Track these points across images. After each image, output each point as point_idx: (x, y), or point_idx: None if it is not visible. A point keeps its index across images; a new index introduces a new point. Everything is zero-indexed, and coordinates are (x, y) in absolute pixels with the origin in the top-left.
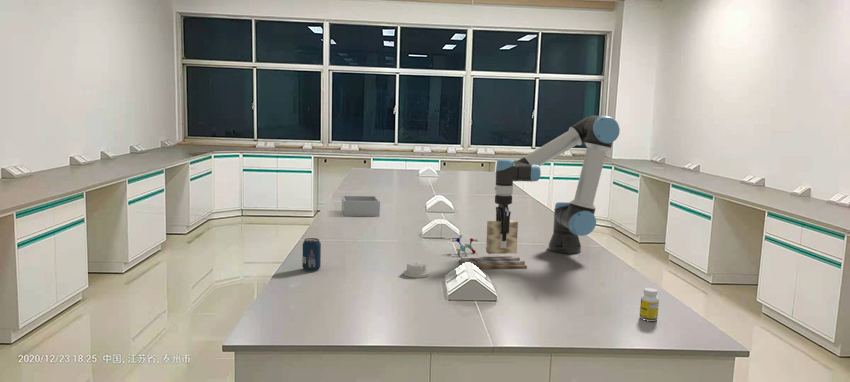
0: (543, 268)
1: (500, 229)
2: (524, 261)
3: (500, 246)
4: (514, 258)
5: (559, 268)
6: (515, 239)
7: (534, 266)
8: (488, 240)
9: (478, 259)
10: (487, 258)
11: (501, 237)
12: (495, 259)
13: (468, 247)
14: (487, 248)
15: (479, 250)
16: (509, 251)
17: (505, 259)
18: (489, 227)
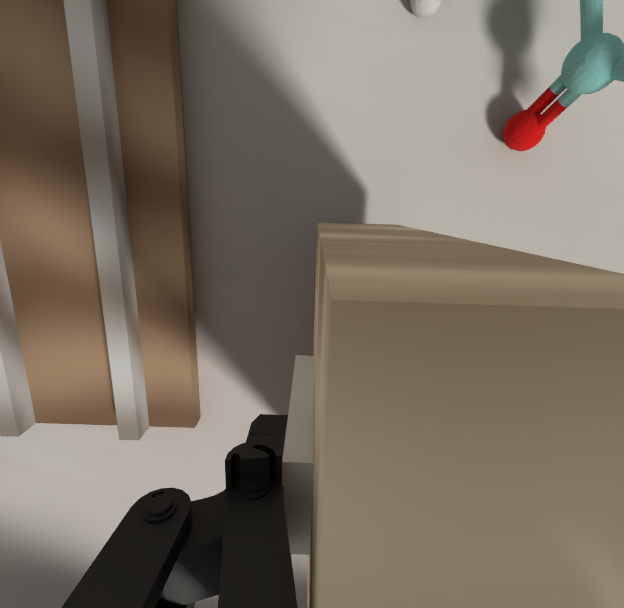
0: (3, 513)
1: (313, 520)
2: (4, 434)
3: (295, 362)
4: (115, 394)
5: (18, 597)
6: (307, 578)
7: (51, 478)
8: (346, 231)
9: (73, 18)
10: (80, 127)
11: (286, 430)
12: (98, 218)
13: (575, 46)
14: (364, 225)
15: (613, 232)
16: None
17: (111, 314)
18: (327, 260)
